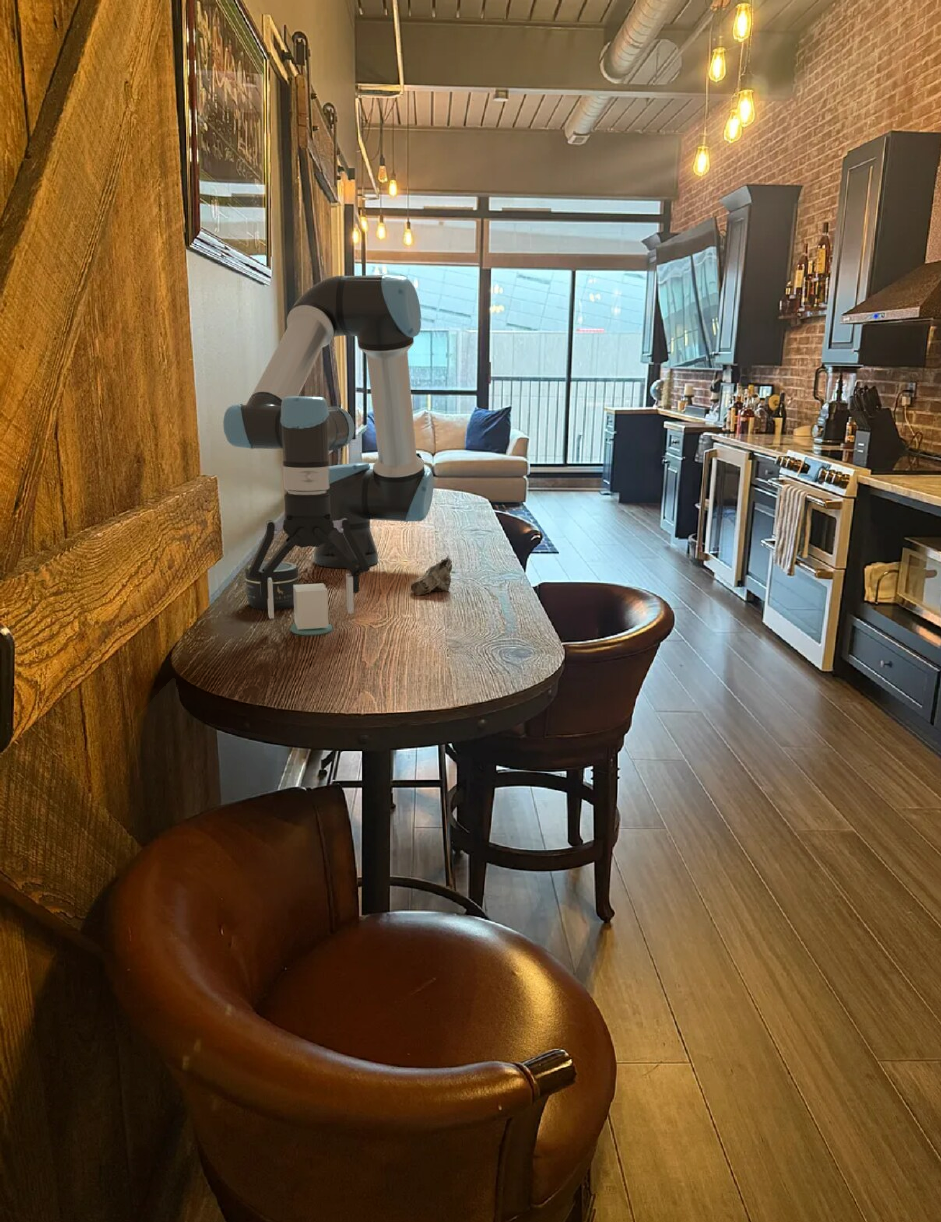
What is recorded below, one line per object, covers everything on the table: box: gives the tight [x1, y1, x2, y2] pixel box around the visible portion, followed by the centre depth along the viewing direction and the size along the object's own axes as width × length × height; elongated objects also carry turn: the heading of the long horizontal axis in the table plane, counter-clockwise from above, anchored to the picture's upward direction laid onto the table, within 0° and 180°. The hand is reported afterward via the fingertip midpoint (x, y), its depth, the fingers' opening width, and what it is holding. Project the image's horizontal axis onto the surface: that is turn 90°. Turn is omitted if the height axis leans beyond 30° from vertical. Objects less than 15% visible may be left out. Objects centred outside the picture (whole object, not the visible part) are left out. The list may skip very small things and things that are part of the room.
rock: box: [410, 555, 453, 596], centre depth 176 cm, size 9×7×10 cm
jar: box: [244, 561, 299, 611], centre depth 164 cm, size 10×10×8 cm
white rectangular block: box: [293, 582, 329, 629], centre depth 148 cm, size 5×5×7 cm
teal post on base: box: [290, 622, 333, 636], centre depth 148 cm, size 7×7×7 cm
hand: (311, 614), depth 148 cm, fingers open, 13 cm apart
